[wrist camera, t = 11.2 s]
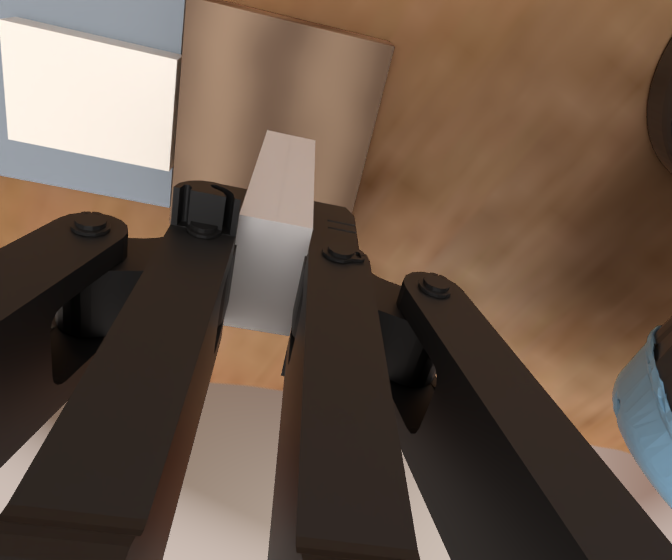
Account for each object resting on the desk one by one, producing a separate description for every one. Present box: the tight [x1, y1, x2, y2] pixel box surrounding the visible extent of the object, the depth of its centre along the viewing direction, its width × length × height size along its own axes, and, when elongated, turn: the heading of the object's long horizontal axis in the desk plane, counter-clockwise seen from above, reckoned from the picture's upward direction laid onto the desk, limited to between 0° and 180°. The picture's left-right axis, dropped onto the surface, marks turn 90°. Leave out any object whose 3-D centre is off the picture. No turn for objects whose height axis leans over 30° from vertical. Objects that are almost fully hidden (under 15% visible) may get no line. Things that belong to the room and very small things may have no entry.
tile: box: [0, 17, 182, 171], centre depth 34 cm, size 10×7×2 cm
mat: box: [0, 0, 186, 208], centre depth 34 cm, size 14×14×1 cm
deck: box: [170, 0, 395, 224], centre depth 35 cm, size 12×14×3 cm
